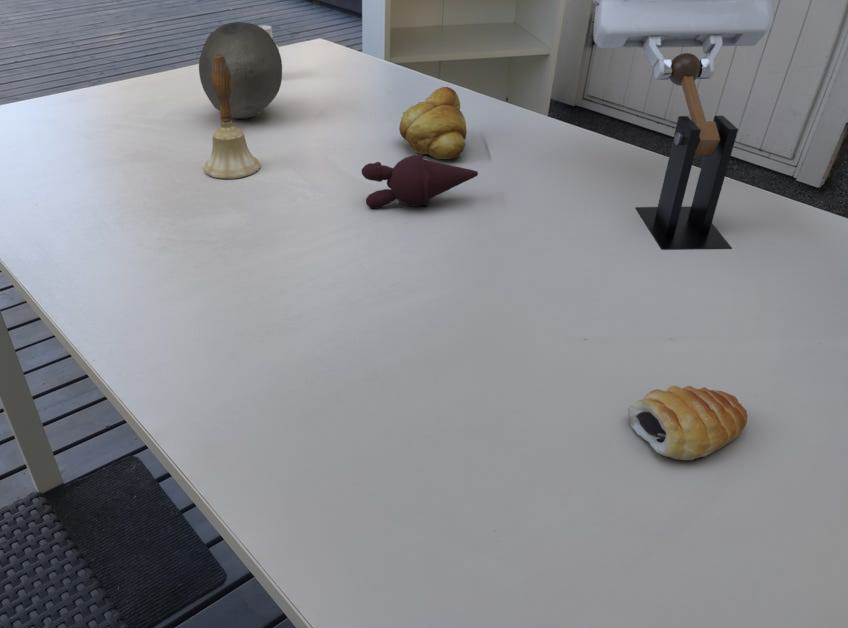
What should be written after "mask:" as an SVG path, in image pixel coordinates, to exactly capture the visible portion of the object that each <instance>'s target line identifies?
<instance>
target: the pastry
mask: <svg viewBox="0 0 848 628" xmlns="http://www.w3.org/2000/svg"><path fill="white" fill-rule="evenodd" d="M627 417H628V419H629V422H630V423H629V425H630V427H631V428H632V430H633V431H634V432H635V433H636V434H637V435H638V436H639V437H640V438H642V439H643V440H644V441H645V442H647V443H648V444H650V446H651V447H652V449H653V450H654V451H655V452H656V453H658V454H659V455H661V456H664V457H667V458H671V459H673V460H677V461H693V460H695V459H698V458H701V457H702V458H705V457H707V456H709V455H711V454H713V453H715V452H717V451H719V450H721V449H722V448H723V447H725V446H727V445H728V444H730V443H731V442H732V441H735V439H737V438H738V437H739V436H740V435H741V434H742V433H743V431H744V429H745V427H746V426H747V423H748V413H747V409H746V408H745V407H744V406H743V405H742V404H741V403H740V402H739V400H738V398H737V397H736V396H735V395H733V394H730V393H728V392H726V391H723V390H715V389H708V388H707V387H701V388H696V387H693V386H691V385H686V386H684V387H683V388H682V387H680V386H678V385H671V386H669V387H668V388H667V389H666V390H662V389H659V388H658V389H657V388H656V389H654V390H651V391H649V392H647V394H646V395H645V396H644V397H643V398H642V399H640V400H638V401H636V402H635V403H634V404H633V405H630V406H629V407H628V408H627Z"/></svg>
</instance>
